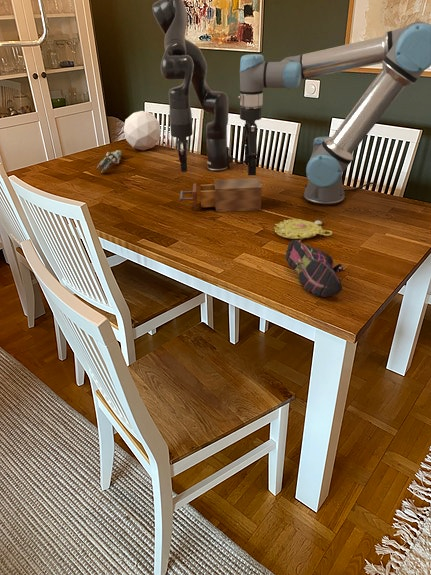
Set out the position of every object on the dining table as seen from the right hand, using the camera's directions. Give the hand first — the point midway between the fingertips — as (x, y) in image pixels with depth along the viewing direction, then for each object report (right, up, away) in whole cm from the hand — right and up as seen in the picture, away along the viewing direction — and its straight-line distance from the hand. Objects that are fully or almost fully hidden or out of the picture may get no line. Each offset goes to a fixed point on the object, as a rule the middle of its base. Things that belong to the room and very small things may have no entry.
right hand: (250, 169), depth 160 cm
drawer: (-15, -12, +7) cm, 21 cm away
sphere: (-51, +32, +78) cm, 99 cm away
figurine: (-63, +16, +55) cm, 85 cm away
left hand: (-24, -1, 0) cm, 24 cm away
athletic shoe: (+15, -41, -39) cm, 58 cm away
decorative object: (+16, -25, -14) cm, 33 cm away
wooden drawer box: (-4, -12, +8) cm, 15 cm away
